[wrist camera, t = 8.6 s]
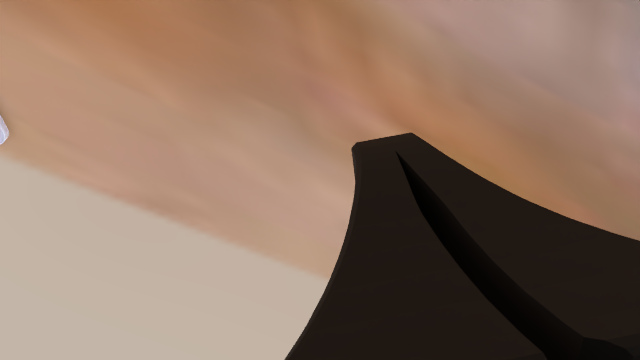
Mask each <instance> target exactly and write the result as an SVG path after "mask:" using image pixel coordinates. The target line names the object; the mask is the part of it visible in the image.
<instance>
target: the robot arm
mask: <svg viewBox="0 0 640 360" xmlns="http://www.w3.org/2000/svg"><path fill="white" fill-rule="evenodd" d="M8 136H9V131H8V128H7V126H6V124H5V123H4V121H3V119H2V117H1V115H0V144H2V143H3V142H4V141H5V140H6V139H7V138H8ZM352 157H353V165H354V174H355V193H354V200H353V205H352V210H351V215H350V220H349V225H348V229H347V232H346V236H345V239H344V243H343V246H342V249H341V252H340V255H339V257H338V260H337V263H336V265H335V268H334V270H333V273H332V275H331V278H330V280H329V282H328V285H327V287H326V289H325V291H324V293H323V295H322V297H321V299H320V301H319V303H318V305H317V307H316V308H315V310H314V312H313V314H312V316H311V318H310V320H309V322H308V324H307V326H306V327H305V329H304V331H303V332H302V334H301V336H300V337H299V338H298V340H297V342H296V343H295V345H294V346H293V348H292V349H291V351H290V352H289V354H288V355H287V357H286V358H285V360H640V241H638V240H635V239H631V238H628V237H624V236H621V235H618V234H614V233H611V232H609V231H606V230H603V229H600V228H597V227H594V226H591V225H588V224H585V223H582V222H579V221H576V220H574V219H571V218H568V217H566V216H563V215H560V214H558V213H556V212H553V211H551V210H548V209H546V208H544V207H541V206H539V205H537V204H534V203H532V202H530V201H528V200H525V199H523V198H521V197H519V196H517V195H515V194H513V193H511V192H509V191H507V190H505V189H503V188H501V187H500V186H498V185H496V184H494V183H492V182H490V181H488V180H486V179H485V178H483V177H481V176H479V175H478V174H476V173H474V172H473V171H471V170H469V169H467V168H466V167H464V166H463V165H461V164H459V163H458V162H456V161H455V160H453V159H451V158H450V157H448V156H447V155H445V154H444V153H442V152H441V151H439V150H438V149H436V148H435V147H433V146H432V145H430V144H429V143H427V142H426V141H424V140H423V139H421V138H420V137H418V136H416V135H415V134H413V133H406V134H401V135H395V136H390V137H384V138H379V139H373V140H368V141H363V142H357V143H356V144H355V145H354V146H353V147H352Z"/></svg>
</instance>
